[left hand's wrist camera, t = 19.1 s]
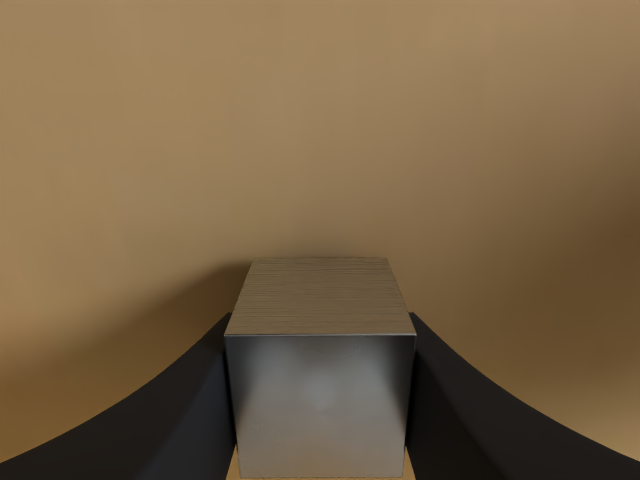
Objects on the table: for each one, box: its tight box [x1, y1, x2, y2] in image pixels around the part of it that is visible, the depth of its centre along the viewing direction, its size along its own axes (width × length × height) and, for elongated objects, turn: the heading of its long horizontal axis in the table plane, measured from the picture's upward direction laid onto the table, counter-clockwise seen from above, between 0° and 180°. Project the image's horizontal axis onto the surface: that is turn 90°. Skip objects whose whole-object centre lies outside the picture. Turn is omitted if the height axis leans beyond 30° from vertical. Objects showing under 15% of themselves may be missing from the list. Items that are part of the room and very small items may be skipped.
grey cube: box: [224, 258, 417, 478], centre depth 11 cm, size 4×4×4 cm
